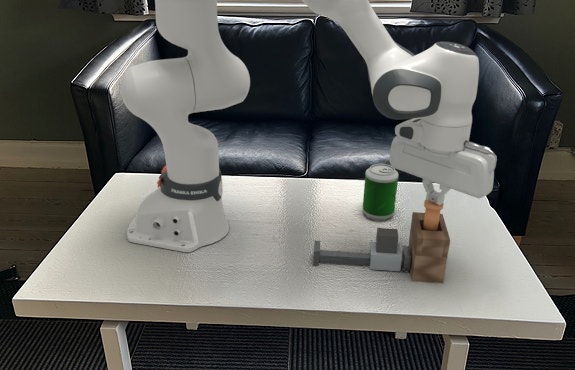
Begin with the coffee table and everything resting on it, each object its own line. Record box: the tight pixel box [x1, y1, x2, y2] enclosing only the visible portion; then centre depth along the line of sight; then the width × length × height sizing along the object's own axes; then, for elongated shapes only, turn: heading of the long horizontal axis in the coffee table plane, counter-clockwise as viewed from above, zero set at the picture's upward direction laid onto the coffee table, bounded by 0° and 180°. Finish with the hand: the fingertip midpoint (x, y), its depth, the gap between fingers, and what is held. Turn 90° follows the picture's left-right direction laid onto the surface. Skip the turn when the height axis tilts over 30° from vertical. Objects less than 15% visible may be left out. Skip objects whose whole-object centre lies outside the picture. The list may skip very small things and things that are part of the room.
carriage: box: [369, 227, 402, 272], centre depth 114 cm, size 6×5×8 cm
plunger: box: [423, 199, 445, 231], centre depth 110 cm, size 4×4×6 cm
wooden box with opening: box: [407, 211, 451, 284], centre depth 113 cm, size 6×10×10 cm, turn 174°
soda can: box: [362, 163, 399, 222], centre depth 132 cm, size 8×8×12 cm
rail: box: [312, 240, 411, 273], centre depth 115 cm, size 19×4×4 cm, turn 84°
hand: (434, 201), depth 108 cm, fingers closed
